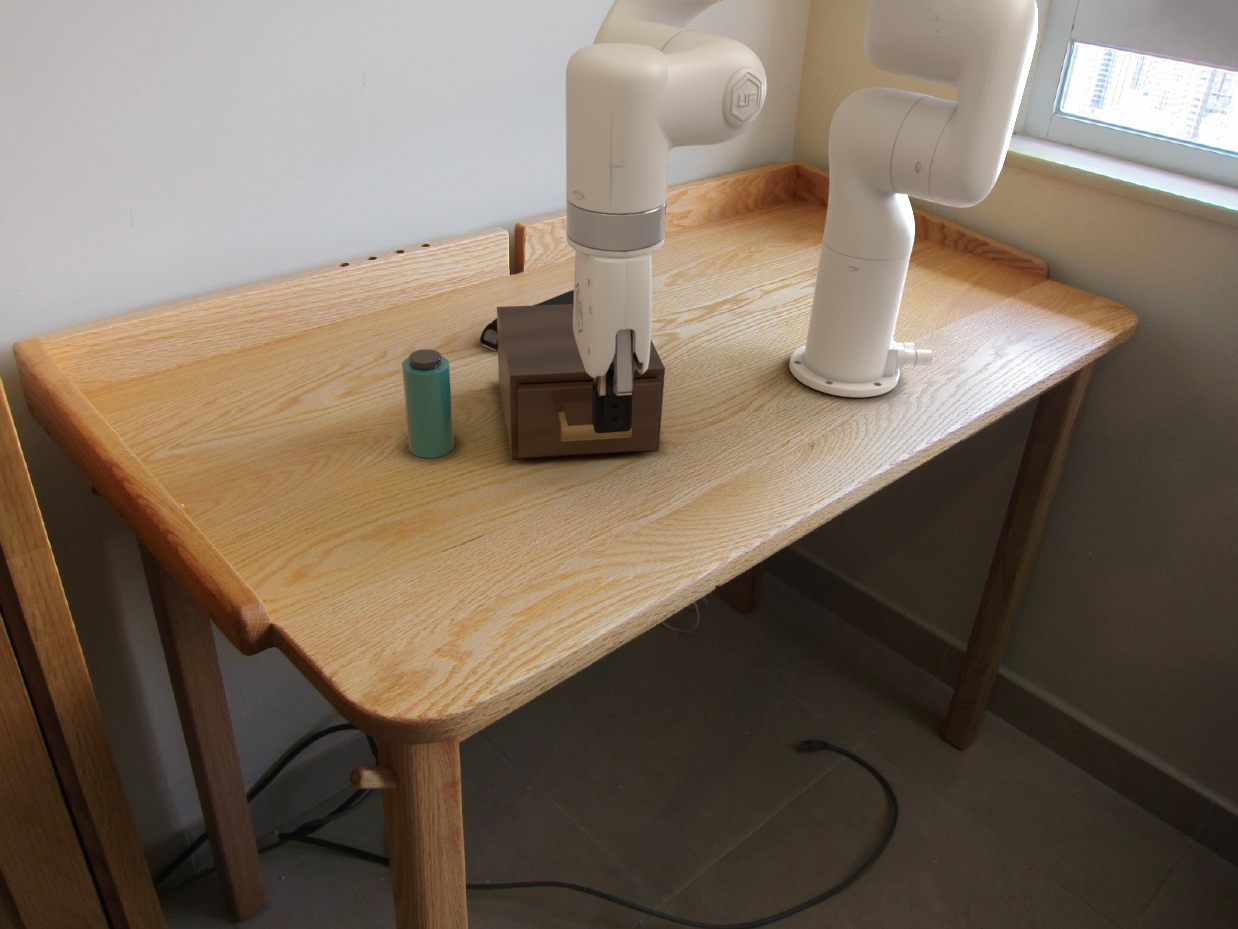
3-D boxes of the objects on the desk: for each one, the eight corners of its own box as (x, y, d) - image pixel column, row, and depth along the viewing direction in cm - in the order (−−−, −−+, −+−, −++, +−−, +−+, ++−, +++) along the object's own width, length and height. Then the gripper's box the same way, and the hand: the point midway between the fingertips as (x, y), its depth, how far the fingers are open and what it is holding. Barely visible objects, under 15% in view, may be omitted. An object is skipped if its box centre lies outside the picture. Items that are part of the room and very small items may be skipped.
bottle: (456, 435, 99) (451, 346, 94) (450, 459, 96) (445, 367, 90) (413, 434, 99) (405, 344, 94) (405, 457, 96) (397, 365, 90)
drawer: (665, 473, 93) (671, 405, 89) (523, 482, 91) (522, 413, 87) (628, 380, 109) (631, 319, 105) (505, 386, 107) (504, 324, 103)
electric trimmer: (586, 316, 126) (586, 292, 124) (500, 353, 115) (499, 328, 114) (564, 307, 128) (564, 284, 126) (477, 344, 117) (476, 319, 116)
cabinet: (659, 450, 99) (665, 368, 94) (511, 460, 96) (509, 375, 91) (629, 377, 112) (633, 301, 107) (498, 384, 109) (496, 306, 104)
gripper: (554, 191, 80) (557, 388, 90) (581, 261, 68) (581, 480, 78) (644, 188, 81) (637, 382, 91) (687, 256, 69) (673, 472, 79)
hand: (611, 427), depth 85 cm, fingers closed
